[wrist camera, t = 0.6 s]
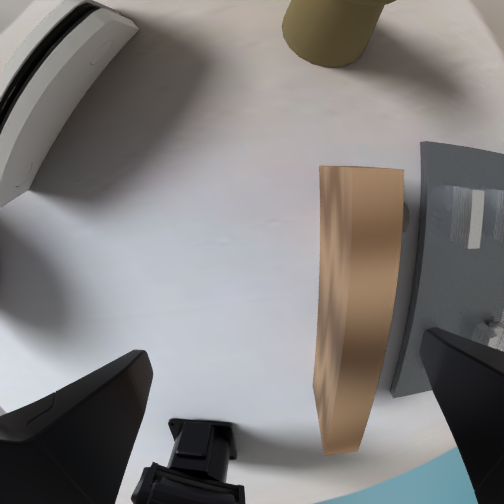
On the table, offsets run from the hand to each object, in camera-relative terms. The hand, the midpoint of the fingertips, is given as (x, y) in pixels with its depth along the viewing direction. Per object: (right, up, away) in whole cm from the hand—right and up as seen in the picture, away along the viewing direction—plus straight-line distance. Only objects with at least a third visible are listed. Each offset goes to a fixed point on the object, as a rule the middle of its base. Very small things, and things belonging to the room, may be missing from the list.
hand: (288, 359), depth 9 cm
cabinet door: (+5, 0, +13) cm, 14 cm away
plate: (+17, +1, +12) cm, 21 cm away
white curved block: (-16, +15, +10) cm, 24 cm away
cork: (+4, +19, +7) cm, 20 cm away
